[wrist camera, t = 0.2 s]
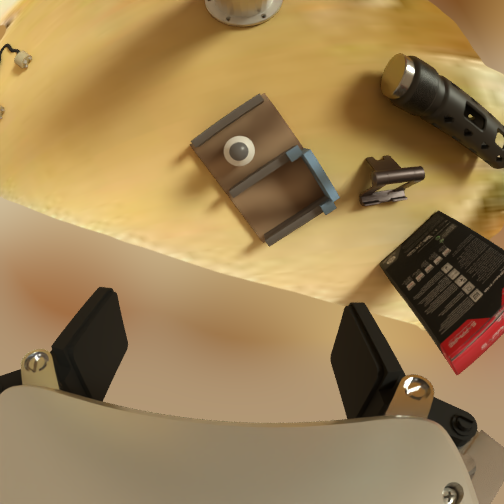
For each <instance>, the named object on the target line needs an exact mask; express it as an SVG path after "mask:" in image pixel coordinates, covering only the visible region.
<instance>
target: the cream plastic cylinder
mask: <svg viewBox="0 0 504 504" xmlns="http://www.w3.org/2000/svg"><path fill="white" fill-rule="evenodd" d="M254 154H255V148H254V145H253V143H252V141H251V140H250V139H249V138H247V137H244V136H236V137H233V138H231V139H229V140H228V141H227V143H226V144H225V146H224V156H225V158H226V160H227V161H228V162H229V163H230V164H232V165H234V166H244V165H246V164H248V163H249V162H250V161H251V160H252V159H253V157H254Z"/></svg>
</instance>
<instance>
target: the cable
mask: <svg viewBox="0 0 504 504" xmlns="http://www.w3.org/2000/svg"><path fill="white" fill-rule="evenodd" d="M5 47H8V49H9V50H10V51H11V52H17V55H16V57H15V60H14V62H15V63H16V64H17V65H19V66H20V67H22V68H25V67H28V66H27V64H28V63H29V61H30V59H32V56H31V55H29V54H28V53H26V52H25V51H21V52H20V51H19V50H18V49H12V48H11V46H10V45H9V44H6V45H4V46H3V48H2V49H1V51H0V61H1V54H2V51H3V50H4V48H5ZM3 111H5V110H4V107H2V106H0V119H2V114H3Z"/></svg>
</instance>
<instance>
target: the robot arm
mask: <svg viewBox="0 0 504 504" xmlns="http://www.w3.org/2000/svg"><path fill="white" fill-rule="evenodd" d="M282 1H283V0H211V1H210V0H205V5H206V8H207V10H208V11H209V13H210V14H211V15H212V16H213V17H214V18H215V19H217V20H218V21H220V22H222V23H224V24H228V25H231V26H239V27H243V26H254V25H258V24H261V23H263V22H266V21H268V20H269V19H271V18H272V17H274V16H275V15H276V14H277V13H278V11H279V9H280V8H281V5H282ZM262 17H265V18H262ZM227 20H230V21H227ZM127 347H128V341H127V337H126V333H125V329H124V325H123V320H122V316H121V311H120V307H119V301H118V296H117V293H116V292H114V291H113V289H112V288H105V287H99V288H98V289H97V290H96V291H95V292H94V293H93V295H92V296H91V297H90V298H89V299H88V301H87V302H86V303H85V304H84V305H83V307H82V308H81V309H80V310H79V311H78V313H77V314H76V315H75V316H74V318H73V319H72V320H71V321H70V323H69V324H68V325H67V326H66V328H65V329H64V330H63V332H62V333H61V334H60V335H59V337H58V338H57V339H56V341H55V342H54V343H53V345H52V351H51V352H48V351H46V350H44V349H36V350H33V351H31V352H29V353H28V354H26V355H25V356H24V358H23V359H22V362H21V369H20V370H17V371H14V372H11V373H8V374H5V375H2V376H0V504H490V503H491V502H492V500H493V499H494V497H495V495H496V494H497V492H498V490H499V488H500V487H501V485H502V483H503V481H504V447H503V446H501V445H500V444H499V443H498V442H496V441H495V440H494V439H493V438H491V437H490V436H489V435H487V434H486V433H485V432H484V431H483V430H481V431H480V432H478V431H477V423H476V420H475V419H474V417H473V416H472V415H471V414H469V413H468V412H466V411H464V410H461V409H459V408H457V407H455V406H452V405H450V404H448V403H446V402H443V401H441V400H439V399H437V398H435V397H434V388H433V385H432V384H431V382H430V381H429V380H427V379H426V378H424V377H422V376H420V375H414V374H411V375H407V376H406V375H405V373H404V371H403V370H402V368H401V366H400V364H399V362H398V360H397V358H396V357H395V355H394V353H393V351H392V350H391V348H390V346H389V344H388V342H387V340H386V339H385V337H384V335H383V334H382V332H381V330H380V329H379V327H378V325H377V323H376V322H375V320H374V318H373V317H372V315H371V313H370V312H369V310H368V308H367V306H366V305H365V303H350V304H349V306H346V307H345V308H344V312H343V316H342V319H341V323H340V326H339V330H338V333H337V336H336V340H335V343H334V347H333V350H332V353H331V364H332V367H333V371H334V374H335V378H336V380H337V384H338V388H339V391H340V394H341V398H342V401H343V405H344V408H345V412H346V415H347V419H345V420H334V421H320V422H319V421H318V422H302V423H301V422H299V423H247V422H227V421H212V420H203V419H193V418H185V417H178V416H171V415H165V414H159V413H153V412H147V411H142V410H137V409H131V408H127V407H123V406H118V405H114V404H110V403H106V402H103V399H104V397H105V395H106V393H107V390H108V388H109V386H110V384H111V381H112V379H113V377H114V375H115V373H116V371H117V369H118V367H119V365H120V363H121V361H122V359H123V356H124V354H125V352H126V350H127Z"/></svg>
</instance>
